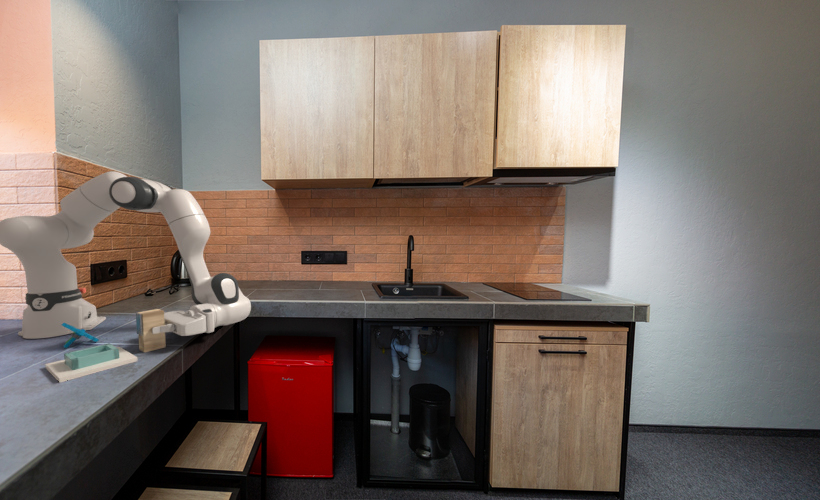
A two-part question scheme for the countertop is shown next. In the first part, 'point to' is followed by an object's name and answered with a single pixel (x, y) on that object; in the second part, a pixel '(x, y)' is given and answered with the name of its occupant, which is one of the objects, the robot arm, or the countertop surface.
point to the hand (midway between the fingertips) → (147, 329)
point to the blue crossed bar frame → (77, 335)
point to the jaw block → (144, 325)
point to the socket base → (89, 362)
